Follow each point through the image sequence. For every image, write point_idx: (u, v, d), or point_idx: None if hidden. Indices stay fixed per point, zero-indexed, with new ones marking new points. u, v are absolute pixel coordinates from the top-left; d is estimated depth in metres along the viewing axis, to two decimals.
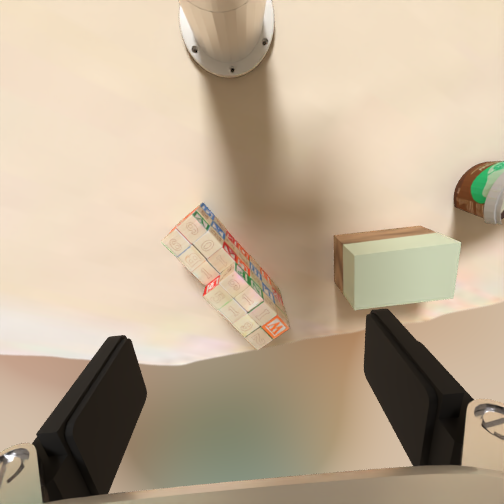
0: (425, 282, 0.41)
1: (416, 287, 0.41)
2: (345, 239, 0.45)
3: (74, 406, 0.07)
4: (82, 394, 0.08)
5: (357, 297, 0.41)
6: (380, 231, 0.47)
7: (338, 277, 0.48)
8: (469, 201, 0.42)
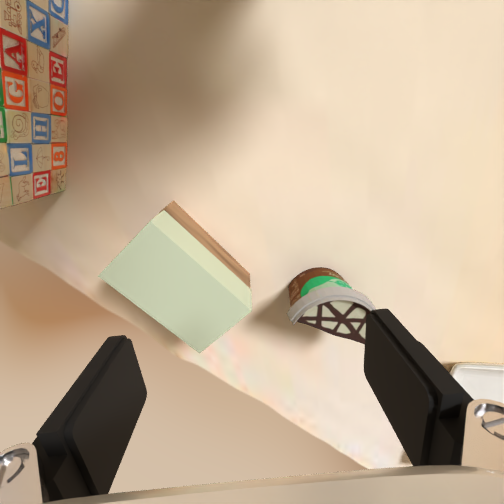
0: (189, 316, 0.32)
1: (178, 313, 0.32)
2: (174, 211, 0.34)
3: (74, 406, 0.07)
4: (82, 394, 0.08)
5: (113, 265, 0.30)
6: (214, 242, 0.38)
7: None
8: (298, 288, 0.38)
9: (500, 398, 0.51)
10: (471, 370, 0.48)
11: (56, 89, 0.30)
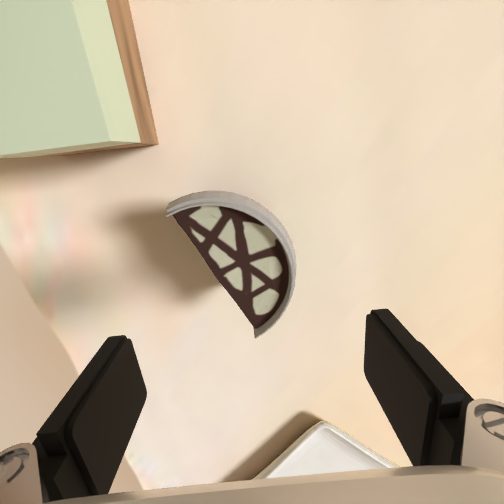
0: None
1: None
2: None
3: (74, 406, 0.07)
4: (82, 394, 0.08)
5: None
6: (136, 49, 0.22)
7: None
8: None
9: None
10: (332, 437, 0.38)
11: None
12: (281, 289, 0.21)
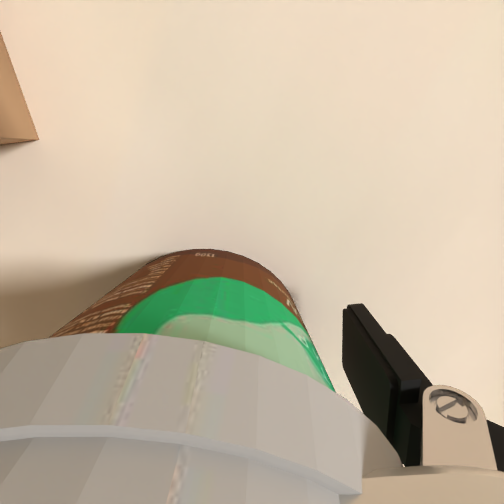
0: None
1: None
2: None
3: None
4: None
5: None
6: None
7: None
8: (151, 282, 0.09)
9: None
10: None
11: None
12: None
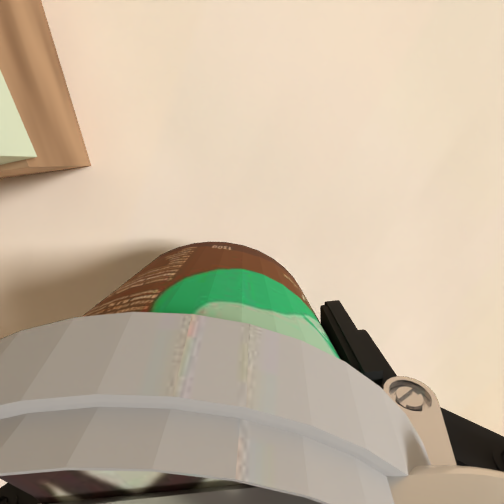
0: None
1: None
2: None
3: None
4: None
5: None
6: None
7: None
8: (175, 270, 0.09)
9: None
10: None
11: None
12: None
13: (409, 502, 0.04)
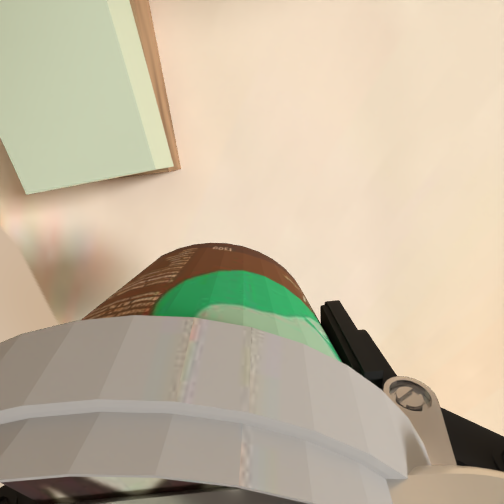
0: (43, 112, 0.17)
1: (24, 91, 0.17)
2: None
3: None
4: None
5: None
6: (163, 84, 0.24)
7: None
8: (176, 272, 0.09)
9: None
10: None
11: None
12: None
13: (409, 502, 0.04)
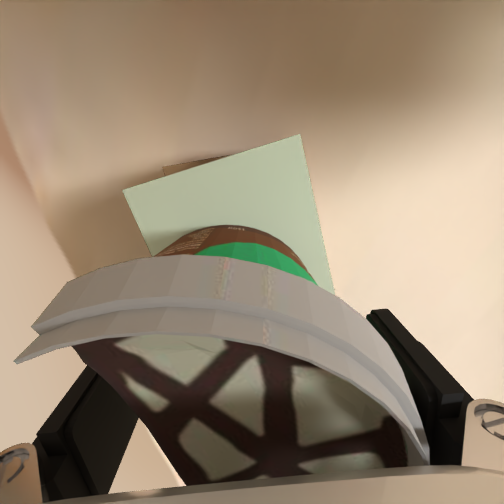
0: None
1: None
2: None
3: (74, 406, 0.07)
4: (82, 394, 0.08)
5: (167, 184, 0.13)
6: None
7: None
8: (199, 242, 0.10)
9: None
10: None
11: None
12: None
13: (409, 502, 0.04)
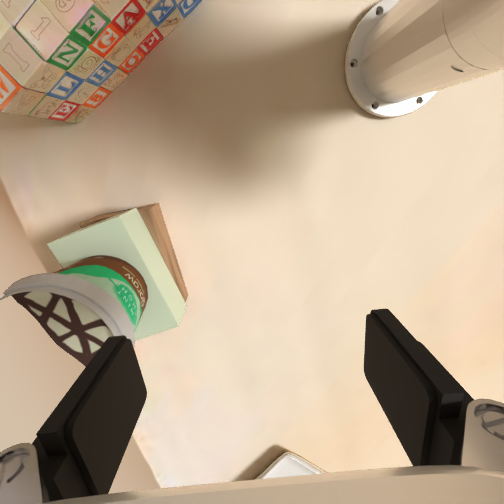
0: None
1: None
2: (154, 214, 0.36)
3: (74, 406, 0.07)
4: (82, 394, 0.08)
5: (66, 240, 0.30)
6: (173, 254, 0.41)
7: (103, 216, 0.37)
8: (71, 266, 0.27)
9: None
10: (295, 462, 0.57)
11: (137, 53, 0.31)
12: None
13: (409, 502, 0.04)
